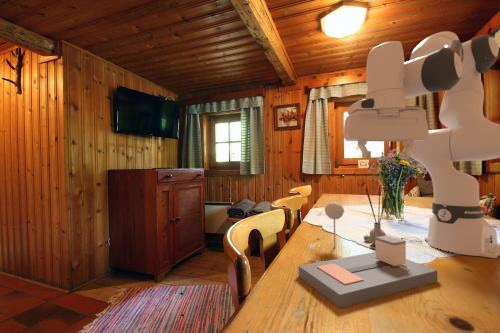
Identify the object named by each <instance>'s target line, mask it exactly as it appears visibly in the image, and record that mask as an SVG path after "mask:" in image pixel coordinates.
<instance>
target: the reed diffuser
mask: <svg viewBox="0 0 500 333" xmlns="http://www.w3.org/2000/svg"><path fill="white" fill-rule="evenodd" d="M365 187H366V188H365V192H366V195H367V198H368V201H369V205H370V207H371V212H372V216H373V219H374V220H375V222H374V225H373V228H372V229H371V230H370V231H369V235H368V234H366V235H364V236H363V240H364V241H365V242H367V243H370V244H371V245H374V246H375V237H380V236H386V232H385V231H384V230H382V227H381V226H382V224H381V220H382V217H383V211H384V209H385V204H386V200H387V198H388V192H389V188H387V189H386V193H385V198H384V201H383V205H382V210H381V212H378V213H377V214H378V215H377V216H378V217H377V218H378V219H377V220H376V215H375V211H374V208H373V205H372V204H373V203H372V200H371V198H370V197H371V196H370V193H369V189H368V186H365ZM380 200H381V186H378V211H380V206H381V205H380V204H381V201H380Z"/></svg>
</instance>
